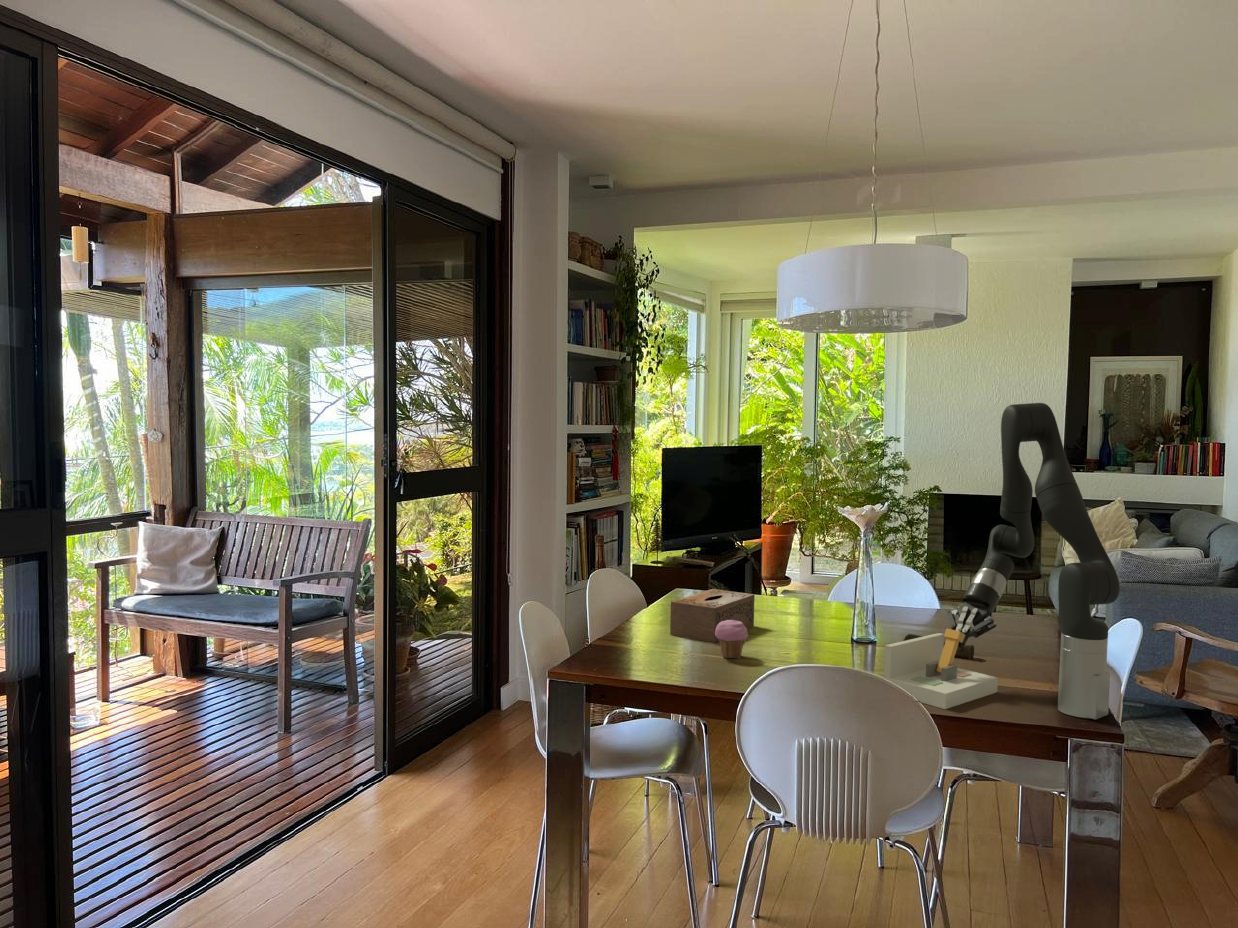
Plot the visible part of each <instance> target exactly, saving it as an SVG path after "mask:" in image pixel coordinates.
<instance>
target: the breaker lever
mask: <svg viewBox="0 0 1238 928" xmlns="http://www.w3.org/2000/svg"><path fill="white" fill-rule="evenodd" d="M943 634H944V638H945V641H944V642H945V645H944V648H943V651H942V654H941V658H940V661H939V664H938V667H937V670H936V671H937V672H938V673H941V668H942V667H946V666H950V665H953V663H954V660H955V657H956V656H955V654H956V650H957V647H958V644H959V642H961V643H962V642H963V639H964V636H965V635H964V634H963V633H962V632H960V631H956V630H952V628H946V629H945V631H944V633H943Z"/></svg>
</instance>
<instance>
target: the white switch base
mask: <svg viewBox="0 0 1238 928" xmlns="http://www.w3.org/2000/svg"><path fill="white" fill-rule="evenodd" d="M944 634H945V633H940V632H938V633H933V634H929V635H928V634H927V635H922V636H923V637H919V638H915V639H910V640H906V641H903V640H902V641H898V642H894V643H890V644H885V646H884V650H885V651H884V670H883V671H884V675H883V679H884V678H886V679H887V680H889V681H891V682H893V683H895V684H897V685H899V686H901V687H902V688H904V689H905V690H906V691H908V692H909V693H911V694H912V695H913V696H914V697H915V698H916V699H918V700H919V701H920V702H919V703H922V704H925V705H926V704H927V705H929V706H933V707H936V708H940V709H943V710H947V709H950V708H953V707H956V706H959V705H962V704H965V703H969V702H972V701H974V700H977V699H981V698H984V697H987V696H990V695H993V694H995V693H998V680H999V679H998V678H999V677H996V676H993V675H989V674H985V673H980V672H977V671H974V670H973V671H972V670H969V669H964V668H960V667H958V665H957V664H952V665H950V666H946V667H942V668H941V673H938V672H937V671H936V670H937V667H938V664H939V661H940V658H941V654H942V651H943V648H944V642H945V637H944Z"/></svg>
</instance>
